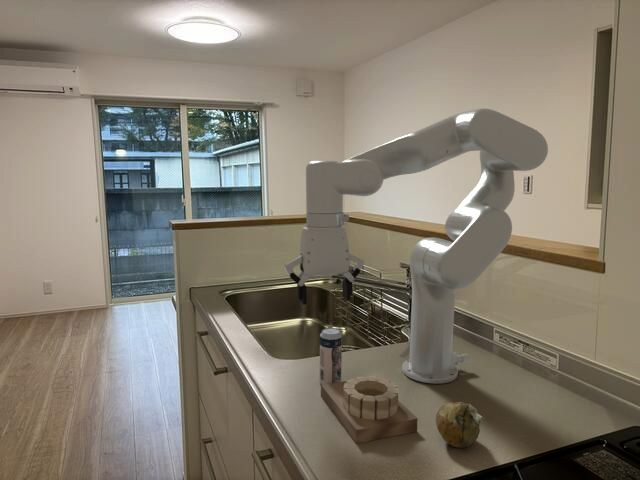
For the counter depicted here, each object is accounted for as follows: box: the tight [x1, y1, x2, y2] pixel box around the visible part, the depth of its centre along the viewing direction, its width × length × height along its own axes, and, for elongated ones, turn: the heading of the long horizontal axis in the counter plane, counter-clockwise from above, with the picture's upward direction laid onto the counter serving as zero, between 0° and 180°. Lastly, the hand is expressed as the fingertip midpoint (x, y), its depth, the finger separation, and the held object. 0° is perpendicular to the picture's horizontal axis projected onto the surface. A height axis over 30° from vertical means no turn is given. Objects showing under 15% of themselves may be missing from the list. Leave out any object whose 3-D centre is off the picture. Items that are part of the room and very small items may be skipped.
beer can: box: [319, 327, 343, 385], centre depth 103 cm, size 5×5×12 cm
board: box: [320, 375, 419, 444], centre depth 91 cm, size 12×18×6 cm, turn 20°
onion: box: [435, 401, 485, 449], centre depth 82 cm, size 8×8×8 cm
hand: (325, 300), depth 101 cm, fingers open, 9 cm apart
